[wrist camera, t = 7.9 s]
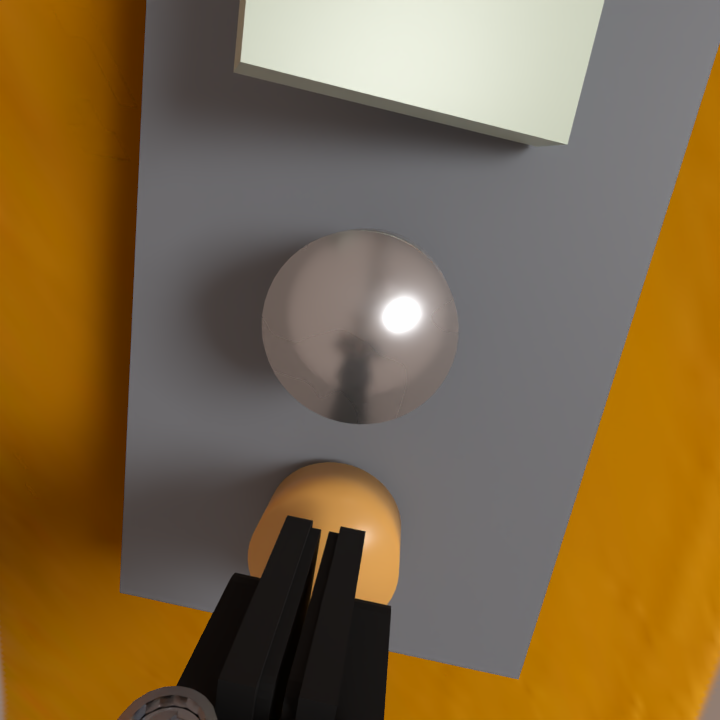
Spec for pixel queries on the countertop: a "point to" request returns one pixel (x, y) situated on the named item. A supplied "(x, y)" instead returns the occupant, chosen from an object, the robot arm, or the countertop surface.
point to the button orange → (337, 522)
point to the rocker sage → (431, 58)
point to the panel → (465, 280)
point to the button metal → (360, 326)
